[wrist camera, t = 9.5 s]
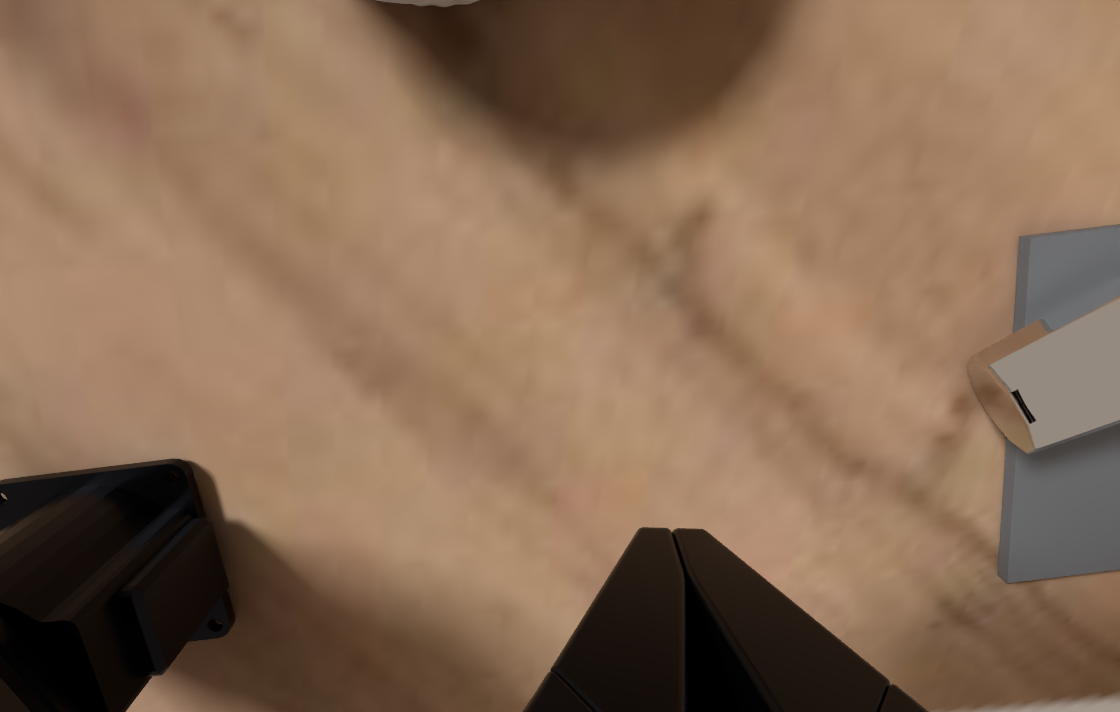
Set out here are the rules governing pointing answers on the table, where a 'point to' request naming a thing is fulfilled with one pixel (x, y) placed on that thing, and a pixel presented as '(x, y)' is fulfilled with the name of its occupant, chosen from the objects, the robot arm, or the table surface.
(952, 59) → the table surface
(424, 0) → the ramekin
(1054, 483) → the mat
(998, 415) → the milkshake
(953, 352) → the table surface
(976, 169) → the table surface
